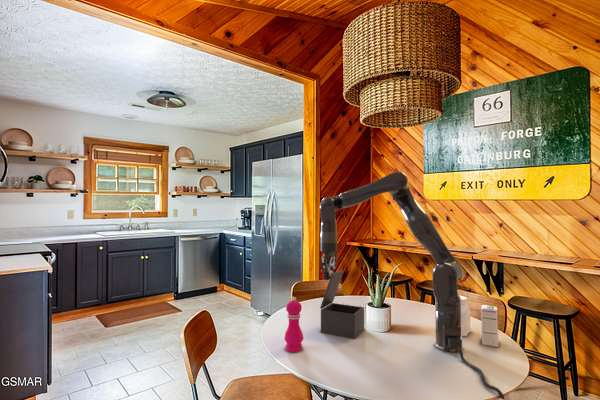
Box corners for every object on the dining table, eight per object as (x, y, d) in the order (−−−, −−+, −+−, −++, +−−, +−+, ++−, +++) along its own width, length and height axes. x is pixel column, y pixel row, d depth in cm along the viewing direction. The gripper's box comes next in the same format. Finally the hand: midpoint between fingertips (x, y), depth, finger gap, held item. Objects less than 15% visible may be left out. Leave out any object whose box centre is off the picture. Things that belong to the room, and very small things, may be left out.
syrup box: (498, 347, 135) (498, 309, 135) (481, 344, 138) (480, 307, 138) (498, 342, 140) (497, 306, 140) (481, 339, 143) (481, 304, 143)
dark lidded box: (364, 329, 155) (364, 307, 155) (354, 338, 144) (354, 314, 144) (332, 323, 163) (332, 302, 163) (320, 332, 152) (320, 309, 152)
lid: (343, 270, 160) (334, 265, 163) (333, 275, 149) (322, 269, 152) (332, 302, 163) (323, 297, 165) (321, 309, 152) (311, 303, 154)
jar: (449, 325, 160) (449, 292, 160) (472, 330, 154) (471, 296, 154) (441, 332, 151) (441, 297, 151) (465, 337, 145) (464, 301, 145)
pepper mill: (302, 345, 138) (302, 294, 138) (303, 352, 130) (303, 299, 131) (284, 345, 137) (284, 294, 138) (284, 353, 130) (284, 299, 130)
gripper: (330, 243, 149) (330, 282, 149) (342, 240, 162) (342, 276, 162) (314, 242, 153) (314, 281, 153) (327, 239, 166) (328, 275, 165)
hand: (329, 278), depth 157 cm, fingers closed on lid, 5 cm apart
